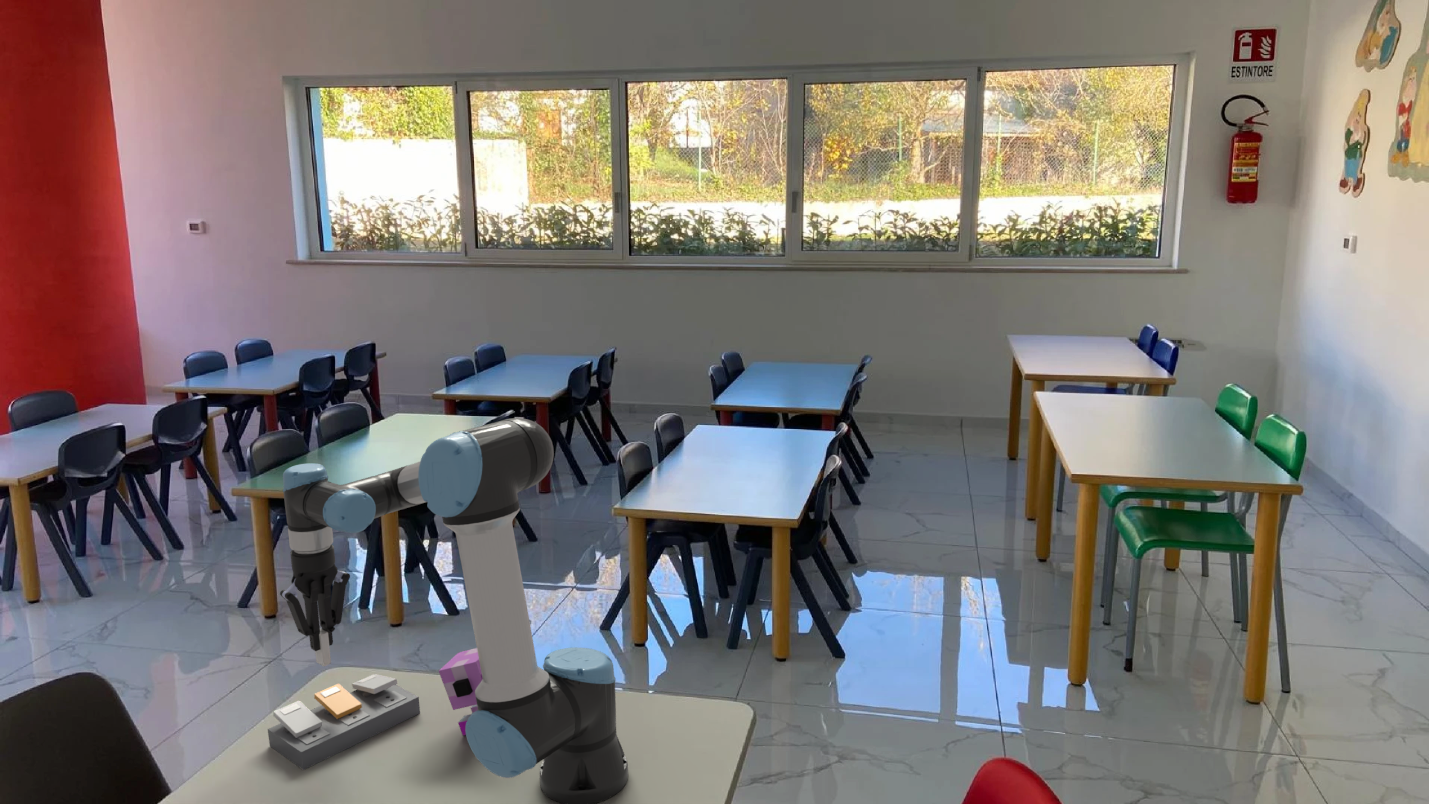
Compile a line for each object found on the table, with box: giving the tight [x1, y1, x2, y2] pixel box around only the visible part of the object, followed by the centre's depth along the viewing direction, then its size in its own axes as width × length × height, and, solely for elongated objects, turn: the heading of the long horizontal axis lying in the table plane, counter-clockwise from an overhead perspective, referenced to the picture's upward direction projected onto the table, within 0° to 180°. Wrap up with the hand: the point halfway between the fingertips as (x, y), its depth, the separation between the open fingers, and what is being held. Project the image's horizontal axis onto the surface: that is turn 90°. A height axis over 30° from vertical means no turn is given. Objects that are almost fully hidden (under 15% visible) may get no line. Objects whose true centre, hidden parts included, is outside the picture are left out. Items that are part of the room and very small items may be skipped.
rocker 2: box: [313, 683, 362, 719], centre depth 186 cm, size 8×5×1 cm, turn 51°
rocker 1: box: [273, 699, 322, 738], centre depth 180 cm, size 8×5×1 cm, turn 51°
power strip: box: [267, 684, 421, 771], centre depth 185 cm, size 12×24×4 cm, turn 141°
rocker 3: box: [351, 673, 398, 694], centre depth 192 cm, size 8×5×1 cm, turn 50°
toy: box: [438, 647, 483, 736], centre depth 185 cm, size 11×8×15 cm
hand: (323, 662), depth 187 cm, fingers closed
